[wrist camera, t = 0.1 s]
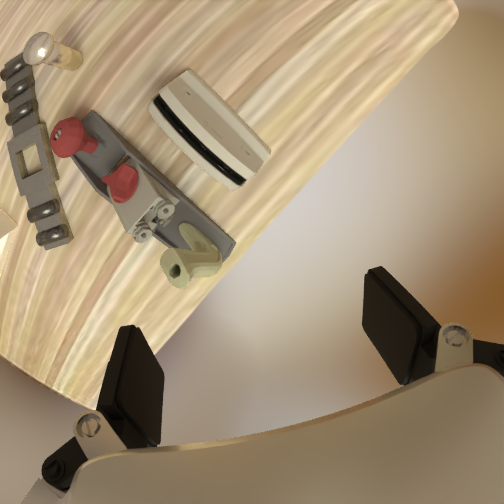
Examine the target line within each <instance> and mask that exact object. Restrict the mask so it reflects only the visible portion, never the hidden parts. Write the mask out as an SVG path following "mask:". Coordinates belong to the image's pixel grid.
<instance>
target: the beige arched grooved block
mask: <svg viewBox="0 0 504 504" xmlns="http://www.w3.org/2000/svg"><path fill="white" fill-rule="evenodd" d="M147 110H148V112H149V113H150V114H151V116H152V117H153V119H154V120H155V121H156V122H157V124H158V125H159V126H160V127H161V128H162V130H163V131H164V132H165V133H166V134H167V135H168V136H169V138H170V139H171V140H172V141H173V142H174V143H175V144H176V145H177V146H178V147H179V148H180V149H181V150H182V151H183V152H184V153H185V154H186V155H187V156H188V157H189V158H190V159H191V160H192V161H193V162H195V163H196V164H197V165H198V166H199V167H200V168H202V169H203V170H204V171H205V172H206V173H208V174H209V175H210V176H211V177H213V178H214V179H215V180H217V181H218V182H219V183H221V184H222V185H224V186H225V187H226V188H228V189H229V190H232V191H234V190H236V189H238V188H240V187H242V186H243V185H244V183H245V182H246V180H251V179H252V178H253V177H254V176H255V174H256V173H257V172H258V170H259V169H260V167H261V166H262V164H263V162H264V161H265V160H266V159H267V157H268V156H269V155H270V153H271V150H270V149H269V147H268V146H267V145H266V144H265V143H264V142H263V141H262V140H261V139H260V138H259V137H258V136H257V134H256V133H255V132H254V131H253V130H252V129H251V128H250V127H249V126H248V125H247V124H246V123H245V122H244V121H243V120H242V119H241V118H240V117H239V116H238V115H237V114H236V113H235V111H234V110H233V109H232V108H231V107H230V106H229V105H228V104H227V103H226V102H225V101H224V100H223V99H222V98H221V97H220V96H219V95H218V94H217V93H215V92H214V91H213V90H212V89H211V88H210V87H209V86H208V85H207V84H206V83H205V82H204V81H203V80H202V79H201V78H200V77H199V76H198V75H197V74H196V73H195V72H193V71H192V70H191V69H189V70H187V71H185V72H184V73H182V74H181V75H179V76H178V77H177V78H175V79H174V80H172V81H171V82H169V83H168V84H167V85H165V86H164V87H163V88H161V89H160V90H159V93H158V94H157V95H156V96H154V97H153V98H152V99H151V101H150V103H149V105H148V107H147Z"/></svg>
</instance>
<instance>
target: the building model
mask: <svg viewBox="0 0 504 504" xmlns="http://www.w3.org/2000/svg"><path fill="white" fill-rule="evenodd" d="M17 228H18V224H17V223H15V222H14V221H13V220H12V219H11V218H10V217H9V216H8V215H7V214H6V213H5V212H4V211H3V210H2V209H1V208H0V277H1V273H2V270H3V267H4V264H5V261H6V258H7V255H8V252H9V249H10V246H11V243H12V241H13V238H14V236H15V233H16V230H17Z"/></svg>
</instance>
